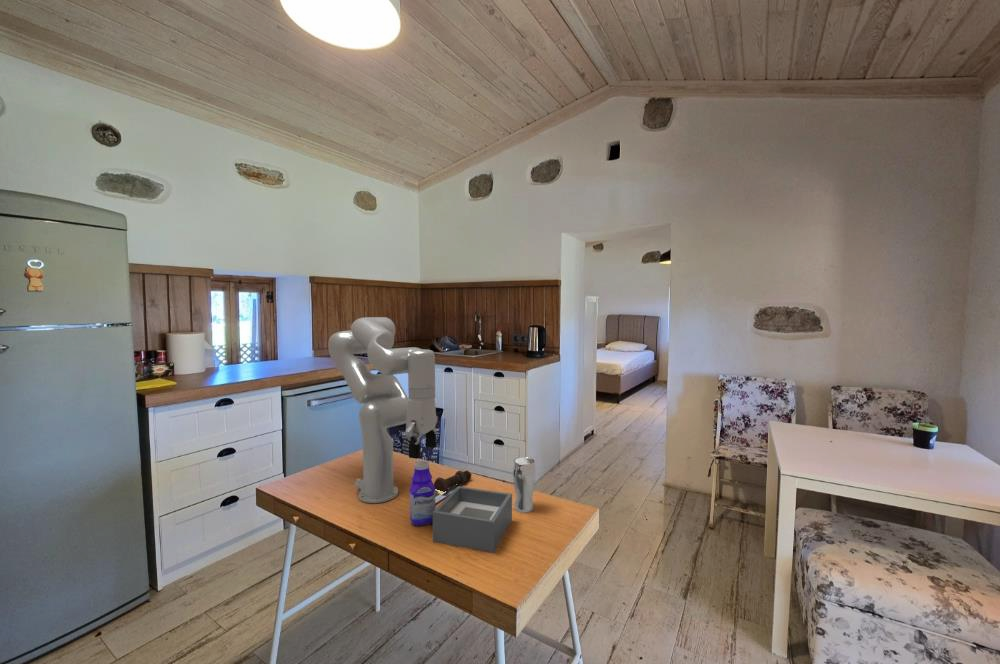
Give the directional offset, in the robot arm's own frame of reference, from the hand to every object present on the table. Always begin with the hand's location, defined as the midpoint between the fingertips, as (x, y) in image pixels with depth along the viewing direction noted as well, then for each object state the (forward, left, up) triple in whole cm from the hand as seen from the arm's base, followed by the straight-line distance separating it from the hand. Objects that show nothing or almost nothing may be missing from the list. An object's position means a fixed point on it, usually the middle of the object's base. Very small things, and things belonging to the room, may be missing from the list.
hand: (423, 452), depth 120 cm
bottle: (0, 0, -21) cm, 21 cm away
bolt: (-1, +25, -21) cm, 33 cm away
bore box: (+16, 0, -21) cm, 26 cm away
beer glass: (+26, +17, -21) cm, 37 cm away
